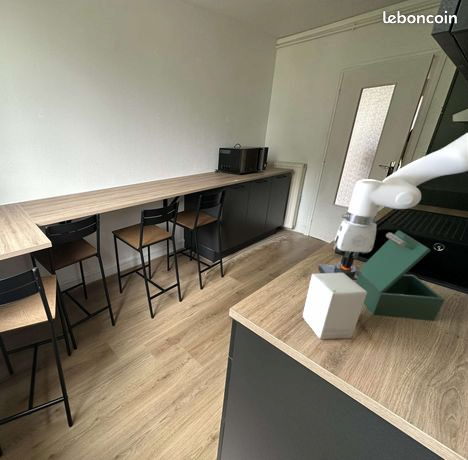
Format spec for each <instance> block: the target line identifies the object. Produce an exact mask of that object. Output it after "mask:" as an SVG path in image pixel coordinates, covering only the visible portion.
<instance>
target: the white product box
mask: <svg viewBox="0 0 468 460" xmlns="http://www.w3.org/2000/svg"><path fill="white" fill-rule="evenodd" d="M310 277H311V278H310V282H309V285H308V291H307V294H306V298H305V299H306V300H305V304H304V307H303V313H302V318H303V319H304V320H305V322H306V323H307V325H308V326H309V327H310V328H311V330H312V331H313V333H314V334H315V335H316V336H317V338H318V339H319V340H331V339H351V338H353V334H354V333H355V329H356V326H357V323H358V321H359V318H360V315H361V312H362V309H363V306H364V301H365V298H366V295H367V291H365V290H364V289H363V288H362V287H360V286H359V285H358V284H356V282H355V280H352V279H350V278H349V277H348V276H347V275H345V274H344V273H323V274H321V273H312V274H311V276H310Z"/></svg>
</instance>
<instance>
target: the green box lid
mask: <svg viewBox="0 0 468 460" xmlns="http://www.w3.org/2000/svg"><path fill="white" fill-rule="evenodd" d="M385 237H386V238H387V239H388V240H387V241H385V243H384V244H383V245H382V246H380V248H379V249H378V250H377V251H376V252H375V253H374V254H373V255H372V256H371V257H370V258H369V259H368V260H367V261H366V262H365V263H364V264H363V265H362V266H361V267H360V268H359V272H360V271H361V272H362V273H363V274H364V275H365V276H366V277H367V279H368V280H369V281H370V282H371V283H372V284H373V285H374V286H375V287H376V288H377V289H378V290H379V291H380V292H381V293H384V292H385V291H386V290H387V289H388V288H389V287H390V286H392V285H393V284H394V283H395V282H396V281H397V280H398V279H399V278H400V277H402V276H403V275H404V274H405V275H406V274H407V272H408V271H409V270H411V269H412V268H413V267H414V266H415V265H417V263H419V262H420V261H421V260H422V259H423V258H424V257H425V256H427V254H429V253H430V252H431V251H432V250H431V249H430V248H429V247H427V246H426V245H424V244H422V243H420V242H419V241H417V240H415V239H414V238H412V237H411V236H409V235H408V234H406V233H405V232H403V231H401V230H399V229H398V230H397V231H396V232H395V233H393V232H387V233H386V234H385Z"/></svg>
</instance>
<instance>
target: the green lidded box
mask: <svg viewBox="0 0 468 460" xmlns="http://www.w3.org/2000/svg"><path fill="white" fill-rule="evenodd" d="M357 277H358V279H357V280H356V282H355V283H356V284H358V285H359V286H360V287H362V288H363V289H364V290H365V291H367V295H366V298H365V301H364V303H363V305H365V306H366V308H367V309H368V311H369V312H370V313H371V314H372V315H373V316H380V317H389V318H390V317H391V318H401V319H409V320H410V319H411V320H421V321H429V322H430V321H431V322H434V321H436V319H437V317H438V315H439V313H440V310H441V309H442V307H443V304H444V302H445V298H443V297H442V296H441V295H440V294H439V293H438V292H436V291H435V290H434V289H433V288H431V287H430V286H429V285H428V284H426V283H425V282H424V281H422V280H421V279H420V278H418V277H417V275H414V274H406V273H405V274H404V275H403V276H402V277H400V278H399V279H398V280H397V281H396V282H395V283H394V284H393V285H392V286H390V287H389V288H388V289H387V290H386V291H385V292H384V293H381V292H380V291H379V290H378V289H377V288H376V287H375V286H374V285H373V284H372V283H371V282H370V281H369V280H368V279H367V277H366V276H365V275H364V274H363V273H362V272H361V271H360V270H359V273H358V275H357Z"/></svg>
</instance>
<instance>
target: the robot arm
mask: <svg viewBox="0 0 468 460" xmlns="http://www.w3.org/2000/svg"><path fill="white" fill-rule="evenodd" d="M466 172H468V132H466V133H465V134H463V135H461V136H460V137H459V138H457V139H455V140H454V141H452V142H450V143H449V144H447V145H446V146H444V147H441V148H440V149H438V150H436V151H433V152H431V153H429V154H427V155H425V156H422V157H421V158H418V159H416V160H413V161H412V162H410V163H407V164H406V165H404V166H402V167H401V168H399V169H398V170H396V171H394V172H393V173H392V174H390V175H389V176H387V177H386V178H384V179H383V180H382V181H381V180H376V179H360V180H357V181H356V183H355V184H354V187H353V190H352V193H351V198H350V201H349V205H348V209H347V211H346V213H344V214H343V213H342V214H341V218H342V221H341V223H340V225H339V227H338V229H337V231H336V234H335V238H334V242H333V244H334V245H333V247H332V250H333V251H334V252H336V253H337V252H338V253H340V254H342V256H341V261H340V263H341V264H342V265H343V266H344V267H345V268H351V266H353V265H354V261H355V259H357V258H358V256H361V255H362V254H368V253H370V252H371V251H372V250H373V248H374V245H375V240H376V237H377V236H376V235H377V223H375V221H376V219H377V218H376V217H377V214H378V212H379V208H380V206H381V207H385V208H390V209H394V210H395V209H396V210H407V209H411V208H413V207H415V206H417V205H418V204H419V203H420V201H421V200H422V192H421V190H420V189H419V188H418V187H417V186H420V185H421V184H423V183H426V182H427V181H430V180H432V179H436V178H439V177H443V176H449V175H455V174H456V175H457V174H461V173H466Z"/></svg>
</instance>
